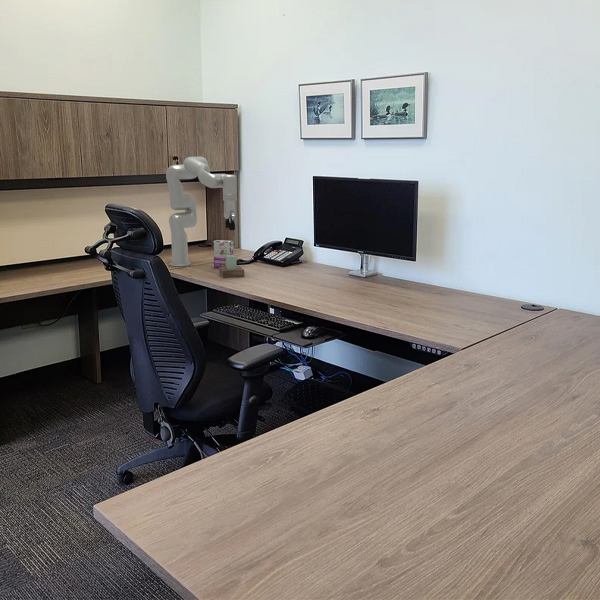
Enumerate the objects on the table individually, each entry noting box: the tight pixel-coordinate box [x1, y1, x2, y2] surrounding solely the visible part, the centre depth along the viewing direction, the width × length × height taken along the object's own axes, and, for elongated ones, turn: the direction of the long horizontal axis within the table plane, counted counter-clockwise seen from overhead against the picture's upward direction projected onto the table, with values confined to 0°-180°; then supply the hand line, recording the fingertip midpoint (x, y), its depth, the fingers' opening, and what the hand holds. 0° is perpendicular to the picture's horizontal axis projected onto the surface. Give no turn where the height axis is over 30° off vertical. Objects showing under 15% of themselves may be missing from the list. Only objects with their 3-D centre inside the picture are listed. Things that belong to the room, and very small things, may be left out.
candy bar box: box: [213, 239, 235, 269], centre depth 371 cm, size 11×5×16 cm, turn 73°
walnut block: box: [218, 265, 245, 279], centre depth 352 cm, size 12×12×4 cm
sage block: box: [226, 254, 238, 269], centre depth 350 cm, size 5×5×7 cm
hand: (230, 228), depth 346 cm, fingers open, 9 cm apart
